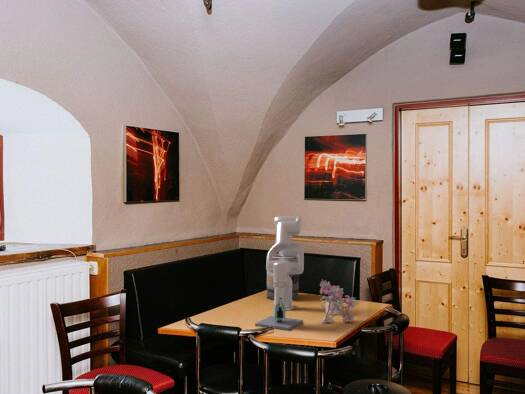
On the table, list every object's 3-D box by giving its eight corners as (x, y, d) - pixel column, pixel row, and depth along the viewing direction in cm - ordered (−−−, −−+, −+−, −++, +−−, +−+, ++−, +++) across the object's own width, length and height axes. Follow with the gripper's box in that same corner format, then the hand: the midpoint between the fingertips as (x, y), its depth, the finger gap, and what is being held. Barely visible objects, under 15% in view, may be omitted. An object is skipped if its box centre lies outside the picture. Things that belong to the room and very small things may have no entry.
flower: (344, 327, 272) (357, 283, 280) (307, 317, 284) (320, 275, 292) (355, 336, 288) (367, 294, 296) (319, 326, 300) (331, 286, 308)
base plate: (271, 318, 298) (271, 315, 298) (302, 322, 289) (302, 319, 289) (255, 326, 280) (255, 323, 280) (288, 330, 271) (288, 327, 271)
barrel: (300, 301, 347) (300, 257, 347) (267, 301, 347) (267, 257, 347) (297, 294, 370) (297, 253, 369) (266, 294, 369) (266, 253, 369)
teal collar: (273, 316, 287) (273, 304, 287) (284, 316, 288) (284, 304, 288) (274, 319, 281) (274, 306, 281) (285, 319, 282) (285, 306, 282)
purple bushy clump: (340, 312, 316) (340, 293, 316) (339, 315, 307) (340, 296, 307) (321, 311, 319) (321, 292, 318) (319, 314, 310) (320, 295, 310)
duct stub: (278, 320, 286) (278, 308, 286) (282, 321, 285) (282, 308, 285) (275, 321, 284) (276, 309, 284) (280, 322, 282) (280, 309, 282)
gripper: (271, 281, 293) (271, 312, 293) (274, 287, 275) (273, 320, 276) (284, 281, 293) (284, 312, 293) (288, 287, 276) (287, 320, 276)
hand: (279, 316), depth 284 cm, fingers closed on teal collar, 5 cm apart
